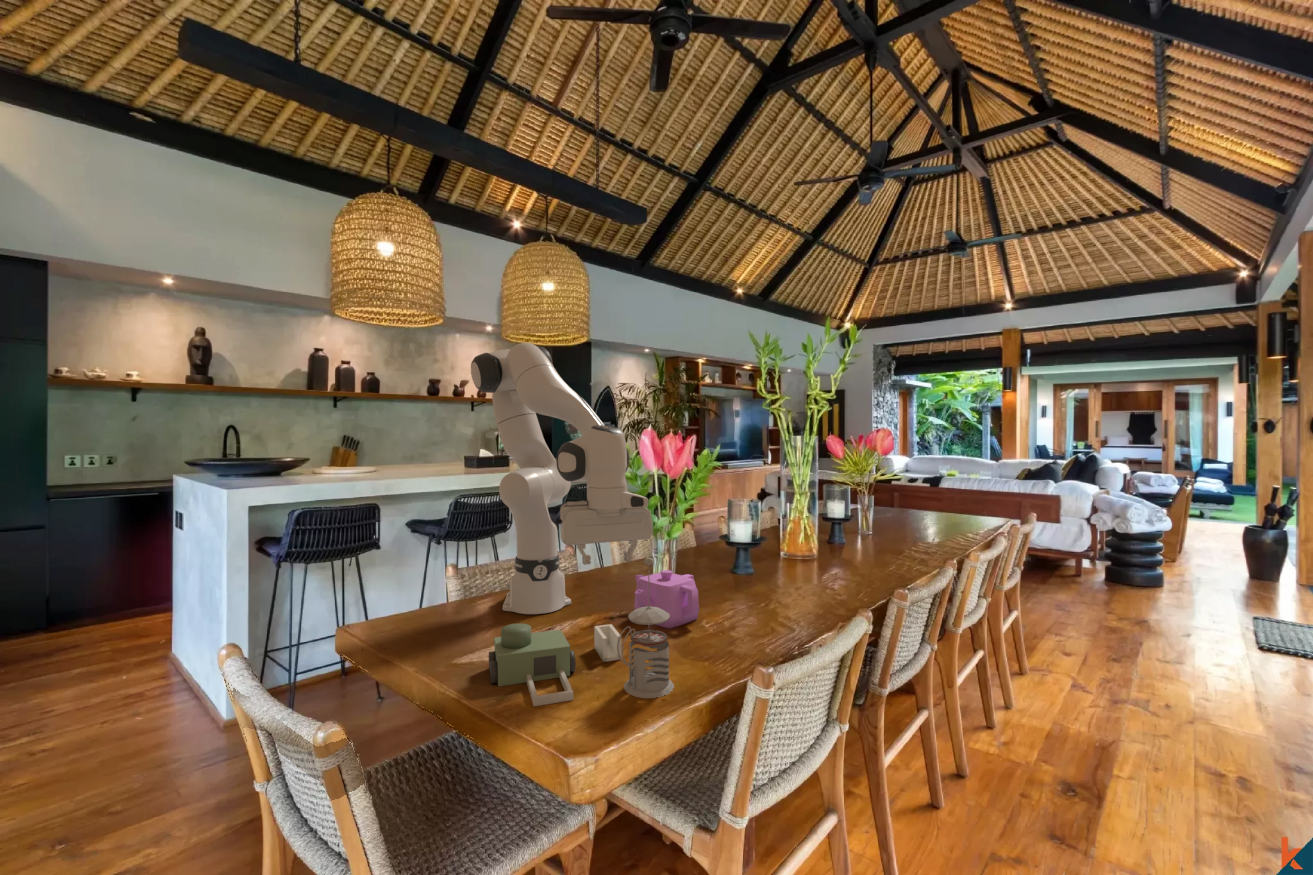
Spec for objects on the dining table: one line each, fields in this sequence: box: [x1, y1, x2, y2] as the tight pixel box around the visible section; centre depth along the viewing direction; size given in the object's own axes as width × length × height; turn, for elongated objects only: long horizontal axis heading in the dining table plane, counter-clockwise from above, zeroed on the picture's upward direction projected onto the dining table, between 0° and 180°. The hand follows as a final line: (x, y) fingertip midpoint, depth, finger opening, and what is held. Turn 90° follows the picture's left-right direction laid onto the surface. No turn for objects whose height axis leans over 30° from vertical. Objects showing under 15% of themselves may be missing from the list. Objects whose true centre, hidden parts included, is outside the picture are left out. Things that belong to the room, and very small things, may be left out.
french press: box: [617, 557, 675, 699], centre depth 110 cm, size 10×12×25 cm
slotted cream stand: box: [593, 623, 622, 663], centre depth 126 cm, size 8×4×5 cm, turn 20°
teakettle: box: [633, 569, 700, 629], centre depth 150 cm, size 17×17×12 cm
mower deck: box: [488, 623, 577, 707], centre depth 112 cm, size 20×16×9 cm
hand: (607, 562), depth 126 cm, fingers open, 8 cm apart
